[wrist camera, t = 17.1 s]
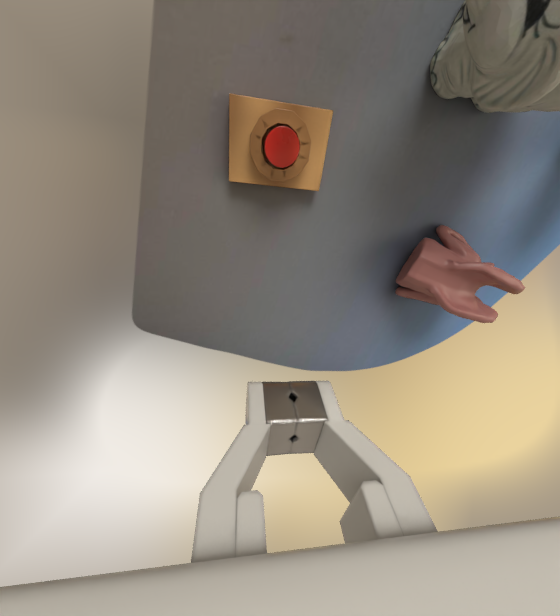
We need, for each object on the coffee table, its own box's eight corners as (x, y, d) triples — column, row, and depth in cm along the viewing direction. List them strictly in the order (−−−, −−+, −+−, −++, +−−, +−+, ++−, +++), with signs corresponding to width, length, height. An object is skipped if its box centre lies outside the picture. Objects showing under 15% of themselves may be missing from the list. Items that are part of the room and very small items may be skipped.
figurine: (385, 282, 47) (465, 320, 44) (387, 300, 38) (487, 349, 36) (426, 218, 41) (520, 258, 39) (439, 222, 32) (562, 274, 30)
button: (262, 164, 28) (263, 165, 26) (265, 124, 26) (266, 123, 25) (294, 168, 29) (296, 169, 27) (299, 129, 27) (302, 128, 25)
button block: (229, 179, 31) (228, 183, 28) (230, 96, 27) (228, 90, 24) (315, 189, 33) (322, 193, 30) (328, 112, 29) (338, 108, 26)
